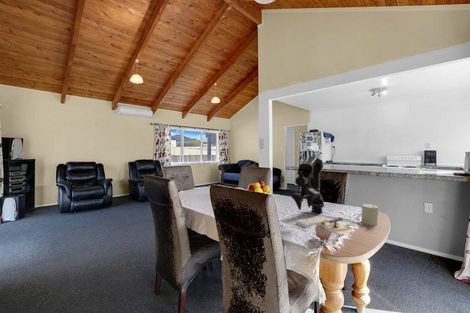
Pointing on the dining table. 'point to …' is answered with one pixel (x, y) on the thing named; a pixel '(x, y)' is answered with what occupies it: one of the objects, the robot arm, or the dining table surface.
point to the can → (369, 214)
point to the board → (338, 229)
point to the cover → (304, 223)
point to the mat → (298, 228)
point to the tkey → (336, 221)
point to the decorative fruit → (323, 231)
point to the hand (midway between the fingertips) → (304, 208)
